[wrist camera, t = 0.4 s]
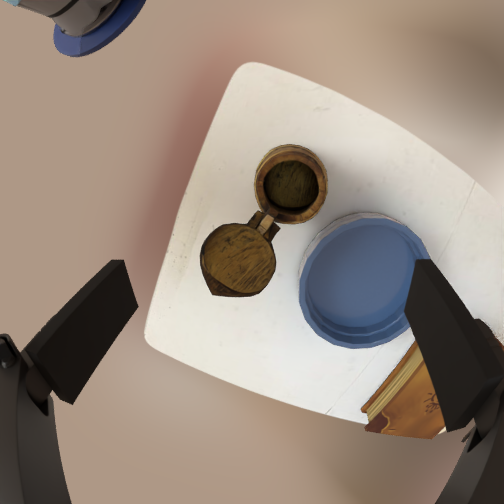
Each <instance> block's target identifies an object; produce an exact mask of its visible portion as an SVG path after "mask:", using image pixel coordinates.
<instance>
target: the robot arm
mask: <svg viewBox="0 0 504 504" xmlns="http://www.w3.org/2000/svg"><path fill="white" fill-rule="evenodd" d="M3 1H6V2H8V3H10V4H12V5H13V6H19V7H22V8H25V9H28V10H31V11H34V12H37V13H39V14H42V15H45V16H47V17H50V18H52V19H53V20H54V22H55V23H56V24H57V25H58V26H59V27H60V28H61V29H60V28H59V29H60V30H61V32H62V33H64V34H65V35H66V34H67V35H69V36H71V37H74V38H80V37H84V36H87V35H89V34H91V33H93V32H95V31H96V30H98V29H99V28H100V27H102V26H103V25H104V24H105V23H106V22H107V21H109V20H110V19H111V17H112V16H113V15H114V14H115V13H116V12H117V10H118V9H119V8H120V6H121V5H122V3H123V1H124V0H3ZM137 308H138V304H137V301H136V298H135V295H134V292H133V289H132V286H131V283H130V279H129V276H128V273H127V269H126V266H125V262H124V260H111V261H110V262H109V263H107V265H105V266H104V267H103V268H102V269H101V270H100V271H99V272H98V273H97V274H96V275H95V276H94V277H93V278H92V279H90V281H88V282H87V283H86V284H85V285H84V286H83V287H82V288H81V289H80V290H79V291H78V292H77V293H76V294H75V295H74V296H73V297H72V298H71V299H70V300H69V301H68V302H67V303H66V304H65V305H64V307H63V308H62V309H61V310H60V311H59V312H58V313H57V314H56V315H54V316H53V317H52V318H51V319H50V320H49V321H48V322H47V323H46V325H45V326H44V327H43V328H42V329H41V331H39V332H38V333H37V334H36V335H35V336H34V338H33V339H32V340H31V341H30V342H29V343H28V344H27V346H26V347H25V348H24V349H23V350H22V351H21V352H19V351H18V349H17V347H16V346H15V344H14V342H13V341H12V339H11V337H10V336H9V335H8V334H0V504H72V503H71V500H70V496H69V492H68V489H67V485H66V481H65V476H64V472H63V467H62V462H61V457H60V452H59V446H58V440H57V433H56V425H55V416H54V405H53V399H52V397H51V396H50V393H51V391H52V390H53V391H54V392H55V394H56V395H57V396H58V397H59V399H60V400H62V401H65V402H67V403H69V404H72V405H73V403H74V402H75V400H76V398H77V397H78V395H79V394H80V392H81V391H82V389H83V387H84V386H85V384H86V383H87V381H88V380H89V378H90V377H91V375H92V373H93V372H94V370H95V369H96V367H97V366H98V364H99V363H100V361H101V360H102V358H103V357H104V355H105V354H106V352H107V351H108V349H109V348H110V346H111V345H112V344H113V342H114V341H115V339H116V338H117V336H118V335H119V333H120V332H121V331H122V329H123V328H124V326H125V325H126V323H127V322H128V321H129V319H130V318H131V317H132V315H133V314H134V312H135V311H136V310H137ZM404 313H405V316H406V318H407V320H408V322H409V325H410V327H411V329H412V332H413V334H414V337H415V339H416V342H417V344H418V347H419V349H420V352H421V354H422V357H423V359H424V362H425V365H426V367H427V370H428V373H429V376H430V379H431V381H432V384H433V387H434V390H435V393H436V396H437V399H438V403H439V406H440V409H441V412H442V416H443V419H444V423H445V426H446V430H447V432H450V431H454V430H457V429H461V428H464V427H466V425H467V424H468V423H469V422H470V421H471V420H472V418H473V417H474V420H475V423H476V425H475V426H474V427H473V428H472V429H471V430H470V431H469V433H468V434H467V435H466V436H465V437H464V438H463V440H462V442H464V441H466V439H467V438H468V437H469V438H468V440H467V443H466V445H465V447H464V450H463V452H462V454H461V456H460V458H459V460H458V463H457V465H456V467H455V469H454V471H453V473H452V474H451V476H450V478H449V480H448V482H447V484H446V486H445V487H444V489H443V491H442V493H441V494H440V496H439V498H438V499H437V501H436V503H435V504H504V351H503V349H502V347H501V346H499V342H498V341H497V339H496V338H495V336H494V334H493V333H492V331H491V330H490V328H489V327H488V326H487V325H486V324H485V323H484V322H483V321H481V320H480V319H474V318H473V317H472V315H471V314H470V312H469V311H468V309H467V308H466V306H465V305H464V303H463V302H462V300H461V299H460V298H459V296H458V295H457V293H456V292H455V291H454V289H453V288H452V286H451V285H450V284H449V282H448V281H447V280H446V278H445V277H444V276H443V274H442V273H441V272H440V270H439V269H438V268H437V266H436V265H435V264H434V263H433V261H432V260H431V259H416V261H415V266H414V271H413V275H412V280H411V284H410V288H409V292H408V297H407V300H406V304H405V308H404Z"/></svg>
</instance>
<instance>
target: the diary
mask: <svg viewBox="0 0 504 504" xmlns="http://www.w3.org/2000/svg"><path fill="white" fill-rule="evenodd" d="M495 338H496V337H495ZM496 339H497V338H496ZM497 341H498V342H499V346H501V347H502V349H503V351H504V346H503V345H502V343H501V342H500V341H499V340H498V339H497ZM361 411H362V413H367V416H368V421H369V423H368V424H367V425H366V426H365V431H370V432H376V433H381V434H388V435H396V436H404V437H414V438H423V439H432V438H434V437H435V436H436V435H437V434H438V433H439V432H440V431H441V430H442V429H443V428H444V427H445V423H444V419H443V416H442V412H441V409H440V406H439V403H438V399H437V396H436V393H435V390H434V387H433V384H432V381H431V379H430V376H429V373H428V370H427V367H426V365H425V362H424V359H423V357H422V354H421V352H420V349H419V347H418V344H417V342H416V340H415V341H414V343H413V344H412V346H411V347H410V349H409V350H408V351H407V353H406V354H405V356H404V357H403V358H402V360H401V361H400V362H399V364H398V365H397V366H396V368H395V369H394V370H393V372H392V373H391V374H390V375H389V377H388V378H387V379H386V380H385V382H384V383H383V384H382V385H381V387H380V388H379V389H378V390H377V391H376V393H375V394H374V395H373V396H372V397H371V398H370V400H369V401H368V402H367V403H366V404H365V405H364V406H363V407H362V409H361Z"/></svg>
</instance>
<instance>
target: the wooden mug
mask: <svg viewBox="0 0 504 504" xmlns="http://www.w3.org/2000/svg"><path fill="white" fill-rule="evenodd" d="M327 181H328V180H327V173H326V169H325V167H324V165H323V164H322V162H321V161H320V159H319V158H318V157H317V156H316V154H314V153H313V152H311V151H310V150H309V149H307V148H304V147H302V146H299V145H292V144H287V145H281V146H278V147H276V148H274V149H271V150H270V151H269V152H268V153H267V154H266V155H265V156H264V158H263V159H262V160H261V162H260V163H259V165H258V167H257V170H256V175H255V181H254V189H255V197H256V200H257V202H258V205H259V207H260V209H261V211H262V212H260V211H257V212H256V213H255V214H254V215H253V217H252V218H251V219H250V220H249V222H248V223H247V224H239V223H231V224H223V225H221V226H219V227H218V228H216V229H215V230H214V231H213V232H212V233H210V234H209V236H208V237H207V238H206V239H205V241H204V243H203V245H202V247H201V252H200V266H201V270H202V274H203V276H204V279H205V281H206V284H207V286H208V288H209V290H210V292H211V294H212V295H216V296H225V297H250V296H254V295H256V294H259V293H260V292H261V291H262V290H263V289H264V288H265V287H266V286H267V285H268V283H269V281H270V280H271V278H272V276H273V274H274V272H275V268H276V258H275V253H274V249H273V246H272V243H271V241H272V240H273V238H274V236H275V235H276V233H277V232H278V231H279V230H280V229H281V228H280V227H279V226H278V225H276V224H275V223H274V222H277V223H282V224H299V223H304V222H306V221H308V220H309V219H311V218H313V217H314V216H315V215H316V214H317V213H318V212H319V210H320V208H321V207H322V205H323V204H324V201H325V198H326V195H327V187H328V183H327Z"/></svg>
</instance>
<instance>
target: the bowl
mask: <svg viewBox="0 0 504 504" xmlns="http://www.w3.org/2000/svg"><path fill="white" fill-rule="evenodd" d="M416 259H430V256H429V254H428V252H427V250H426V248H425V246H424V244H423V242H422V240H421V239H420V238H419V237H418V236H417V235H416V234H415V233H413V232H412V231H411V230H410V229H409V228H408V227H407V226H405V225H404V224H402V223H400V222H398V221H397V220H395V219H392V218H389V217H387V216H384V215H382V214H379V213H355V214H352V215H349V216H346V217H343V218H340V219H337V220H335V221H334V222H332V223H331V224H330V225H328V226H327V227H326V228H324V229H323V230H321V231H320V232H319V233H318V234H317V235H316V237H315V238H314V239H313V241H312V242H311V243H310V245H309V246H308V247H307V249H306V251H305V253H304V256H303V259H302V262H301V265H300V268H299V303H300V306H301V309H302V312H303V315H304V318H305V320H306V321H307V323H308V324H309V325H310V326H311V328H312V329H313V330H314V331H315V333H316V334H317V335H318V336H320V337H322V338H323V339H325V340H327V341H328V342H330V343H332V344H333V345H337V346H341V347H346V348H350V349H359V348H372V347H375V346H378V345H381V344H384V343H387V342H390V341H391V340H393V339H394V338H396V337H397V336H399V335H400V334H402V333H403V332H405V331H406V330H407V329H408V328H409V327H410V325H409V322H408V320H407V318H406V316H405V313H404V308H405V304H406V300H407V297H408V292H409V288H410V284H411V280H412V275H413V271H414V266H415V261H416Z"/></svg>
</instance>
